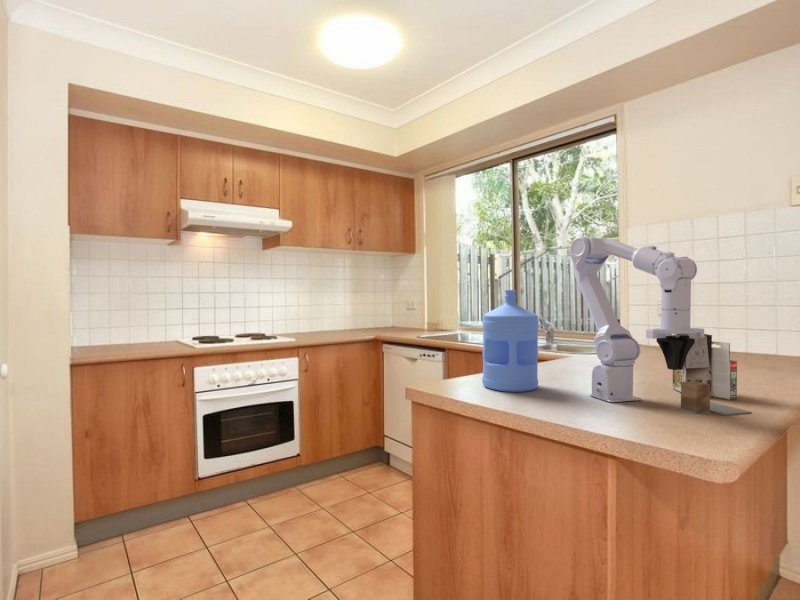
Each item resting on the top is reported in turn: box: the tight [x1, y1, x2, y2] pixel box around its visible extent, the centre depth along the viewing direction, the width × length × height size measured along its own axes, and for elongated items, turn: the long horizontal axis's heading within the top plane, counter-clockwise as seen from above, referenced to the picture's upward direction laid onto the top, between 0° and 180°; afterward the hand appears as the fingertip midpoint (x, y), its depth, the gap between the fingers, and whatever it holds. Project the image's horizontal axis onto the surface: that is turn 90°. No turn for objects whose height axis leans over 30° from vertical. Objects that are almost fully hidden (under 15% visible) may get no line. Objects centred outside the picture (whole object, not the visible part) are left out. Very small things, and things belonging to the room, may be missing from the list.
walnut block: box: [680, 381, 711, 415], centre depth 105 cm, size 4×4×6 cm
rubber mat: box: [710, 401, 752, 417], centre depth 106 cm, size 8×10×1 cm
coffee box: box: [672, 333, 713, 397], centre depth 123 cm, size 9×6×16 cm
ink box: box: [710, 340, 738, 400], centre depth 119 cm, size 4×8×15 cm, turn 26°
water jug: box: [481, 289, 539, 393], centre depth 130 cm, size 16×16×28 cm
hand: (674, 369), depth 103 cm, fingers closed
